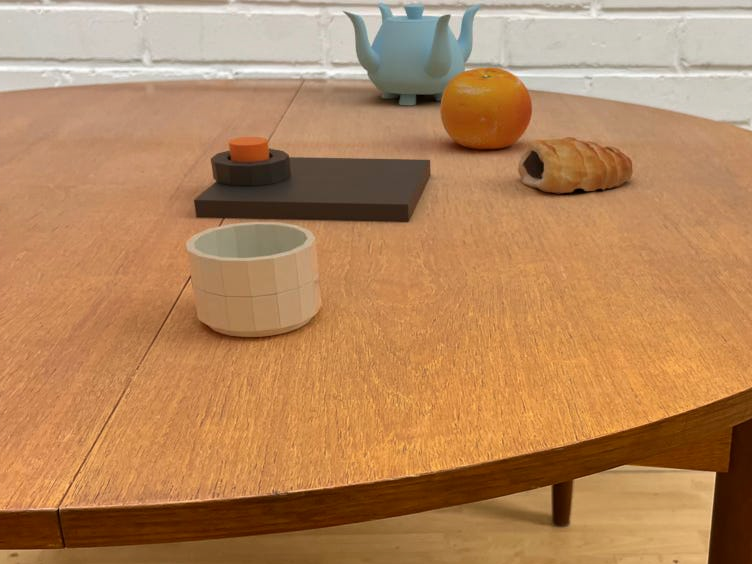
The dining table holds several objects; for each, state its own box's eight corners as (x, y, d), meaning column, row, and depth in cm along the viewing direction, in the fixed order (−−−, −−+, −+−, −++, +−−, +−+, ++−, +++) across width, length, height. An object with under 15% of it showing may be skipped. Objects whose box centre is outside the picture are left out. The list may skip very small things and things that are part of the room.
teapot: (450, 112, 108) (449, 12, 103) (341, 105, 111) (334, 8, 106) (483, 92, 119) (483, 0, 113) (382, 86, 122) (378, -3, 116)
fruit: (423, 116, 87) (466, 34, 86) (428, 133, 96) (467, 58, 95) (504, 163, 88) (548, 83, 87) (502, 176, 96) (542, 103, 95)
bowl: (181, 338, 53) (167, 258, 50) (219, 294, 58) (208, 220, 56) (306, 342, 52) (298, 261, 50) (332, 297, 58) (326, 223, 56)
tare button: (226, 165, 75) (223, 144, 75) (237, 156, 78) (234, 136, 77) (264, 165, 75) (261, 145, 74) (273, 157, 78) (271, 137, 77)
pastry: (607, 169, 85) (610, 124, 83) (648, 188, 80) (653, 141, 78) (511, 180, 82) (512, 134, 80) (548, 201, 76) (550, 151, 74)
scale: (190, 218, 72) (184, 177, 71) (243, 172, 84) (238, 136, 82) (408, 223, 71) (407, 182, 70) (430, 176, 83) (429, 140, 82)
